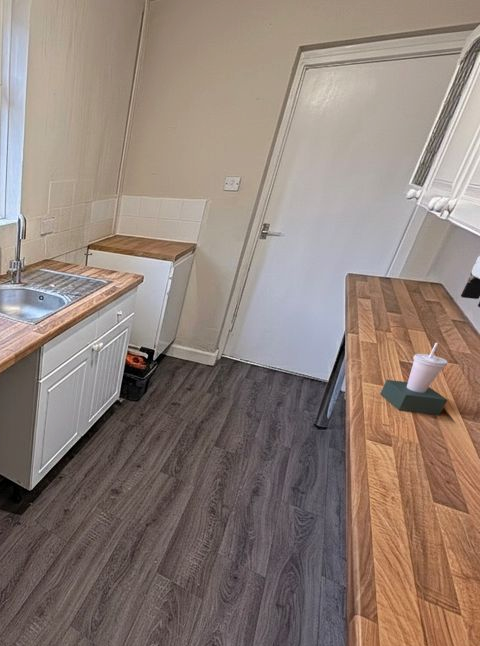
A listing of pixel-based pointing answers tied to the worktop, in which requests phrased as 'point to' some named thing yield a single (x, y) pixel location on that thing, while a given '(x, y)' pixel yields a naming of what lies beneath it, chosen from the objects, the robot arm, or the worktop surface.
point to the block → (412, 398)
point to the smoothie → (425, 370)
